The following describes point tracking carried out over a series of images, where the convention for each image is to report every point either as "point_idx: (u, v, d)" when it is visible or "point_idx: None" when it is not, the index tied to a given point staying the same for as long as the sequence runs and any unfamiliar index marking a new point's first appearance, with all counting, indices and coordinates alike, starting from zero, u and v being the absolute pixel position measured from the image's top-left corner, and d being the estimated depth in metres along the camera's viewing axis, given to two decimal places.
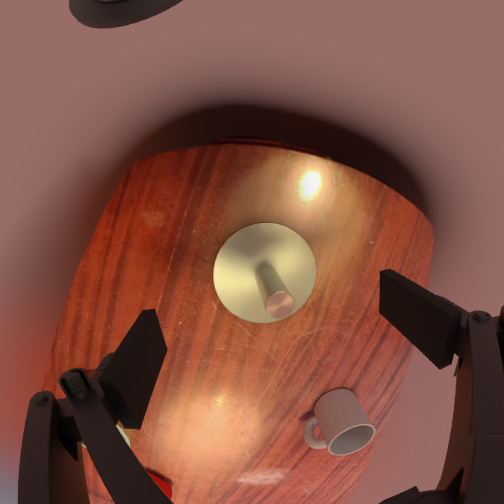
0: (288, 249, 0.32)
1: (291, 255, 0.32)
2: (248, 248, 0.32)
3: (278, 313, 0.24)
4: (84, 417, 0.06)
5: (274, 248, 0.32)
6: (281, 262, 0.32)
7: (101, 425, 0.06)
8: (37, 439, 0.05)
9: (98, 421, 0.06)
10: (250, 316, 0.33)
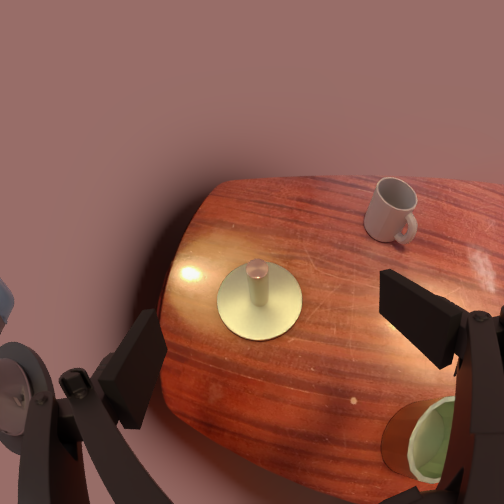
0: (237, 283, 0.41)
1: (242, 281, 0.41)
2: (237, 313, 0.39)
3: (263, 268, 0.32)
4: (84, 417, 0.06)
5: (236, 294, 0.40)
6: (248, 287, 0.41)
7: (101, 425, 0.06)
8: (37, 439, 0.05)
9: (98, 421, 0.06)
10: (296, 307, 0.39)
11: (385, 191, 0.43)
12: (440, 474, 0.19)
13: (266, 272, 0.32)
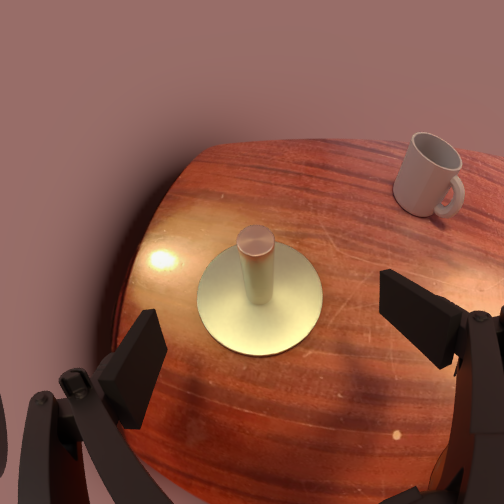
0: (226, 271, 0.28)
1: (233, 268, 0.28)
2: (226, 315, 0.26)
3: (266, 239, 0.19)
4: (84, 417, 0.06)
5: (225, 286, 0.27)
6: (242, 277, 0.28)
7: (101, 425, 0.06)
8: (37, 439, 0.05)
9: (98, 421, 0.06)
10: (315, 305, 0.26)
11: (418, 151, 0.31)
12: None
13: (271, 245, 0.19)
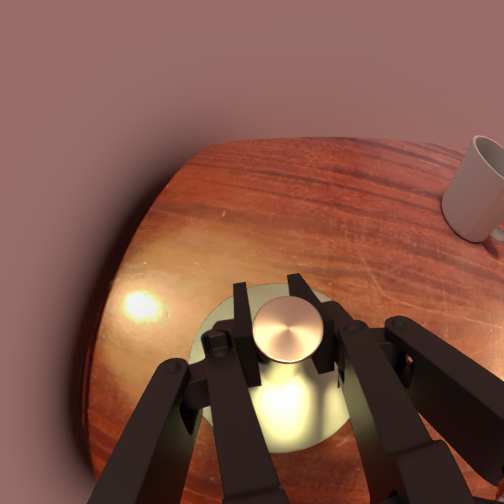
0: None
1: None
2: None
3: (308, 328, 0.10)
4: (218, 376, 0.09)
5: None
6: None
7: (233, 386, 0.08)
8: (154, 409, 0.07)
9: (231, 382, 0.08)
10: None
11: None
12: None
13: (318, 341, 0.09)
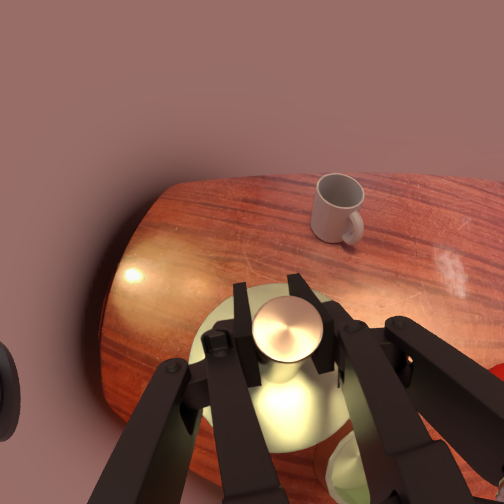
0: None
1: None
2: None
3: (308, 328, 0.10)
4: (217, 376, 0.09)
5: None
6: None
7: (233, 386, 0.08)
8: (154, 409, 0.07)
9: (231, 382, 0.08)
10: None
11: (332, 188, 0.43)
12: None
13: (318, 340, 0.09)
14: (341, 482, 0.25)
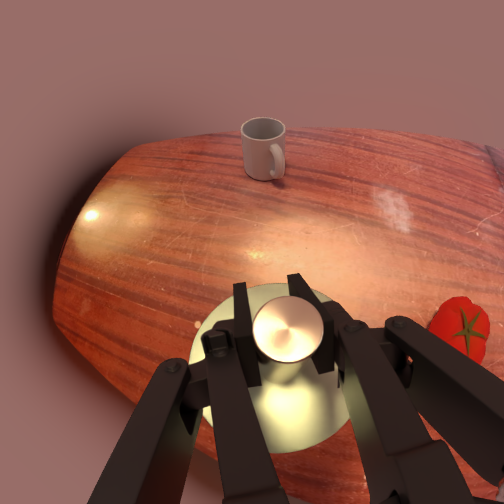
0: None
1: None
2: None
3: (309, 328, 0.10)
4: (218, 376, 0.09)
5: None
6: None
7: (233, 386, 0.08)
8: (154, 409, 0.07)
9: (231, 382, 0.08)
10: None
11: (261, 132, 0.46)
12: None
13: (318, 340, 0.09)
14: None
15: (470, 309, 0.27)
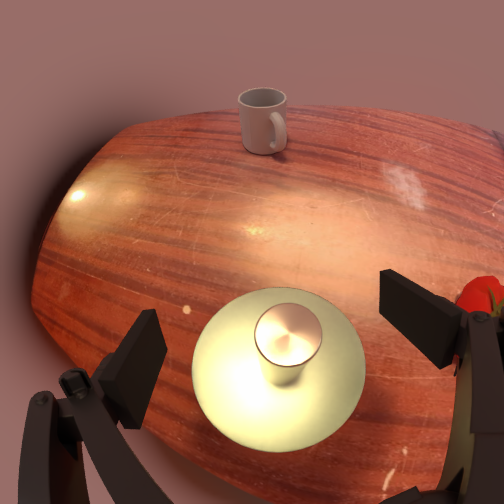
0: (233, 335, 0.19)
1: (242, 330, 0.19)
2: (233, 399, 0.17)
3: (308, 334, 0.10)
4: (84, 417, 0.06)
5: (232, 358, 0.18)
6: (255, 344, 0.19)
7: (101, 425, 0.06)
8: (37, 439, 0.05)
9: (98, 421, 0.06)
10: (355, 382, 0.17)
11: (260, 104, 0.41)
12: None
13: (317, 345, 0.10)
14: None
15: (498, 289, 0.22)
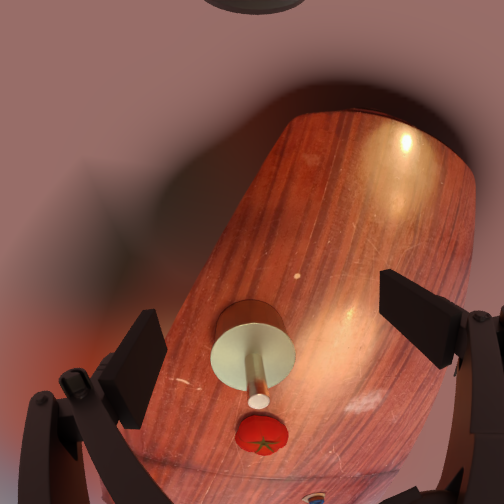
0: (270, 340, 0.37)
1: (273, 344, 0.38)
2: (237, 342, 0.37)
3: (258, 406, 0.29)
4: (84, 417, 0.06)
5: (258, 341, 0.37)
6: (265, 350, 0.38)
7: (101, 425, 0.06)
8: (37, 439, 0.05)
9: (98, 421, 0.06)
10: (243, 387, 0.39)
11: None
12: None
13: (254, 407, 0.29)
14: None
15: (276, 447, 0.47)
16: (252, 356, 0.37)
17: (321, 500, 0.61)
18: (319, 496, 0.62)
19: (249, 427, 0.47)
